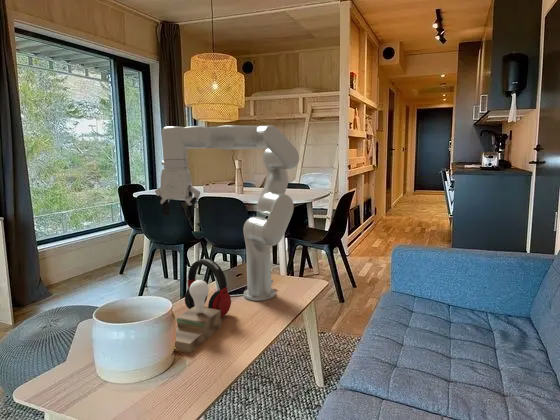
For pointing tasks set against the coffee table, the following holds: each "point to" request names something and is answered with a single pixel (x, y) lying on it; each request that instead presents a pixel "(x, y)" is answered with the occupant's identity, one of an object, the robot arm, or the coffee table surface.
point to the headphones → (220, 297)
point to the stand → (196, 328)
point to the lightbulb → (199, 294)
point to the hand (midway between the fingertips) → (178, 215)
